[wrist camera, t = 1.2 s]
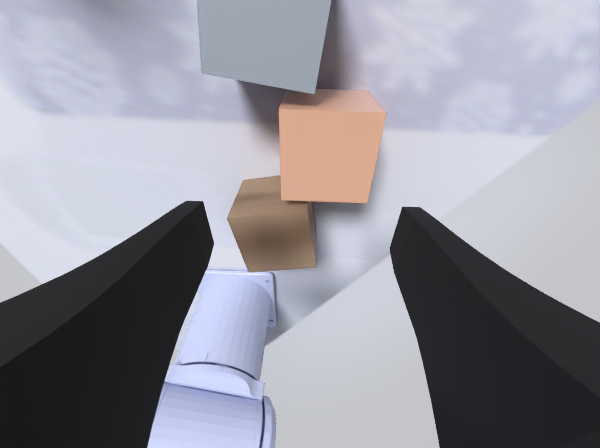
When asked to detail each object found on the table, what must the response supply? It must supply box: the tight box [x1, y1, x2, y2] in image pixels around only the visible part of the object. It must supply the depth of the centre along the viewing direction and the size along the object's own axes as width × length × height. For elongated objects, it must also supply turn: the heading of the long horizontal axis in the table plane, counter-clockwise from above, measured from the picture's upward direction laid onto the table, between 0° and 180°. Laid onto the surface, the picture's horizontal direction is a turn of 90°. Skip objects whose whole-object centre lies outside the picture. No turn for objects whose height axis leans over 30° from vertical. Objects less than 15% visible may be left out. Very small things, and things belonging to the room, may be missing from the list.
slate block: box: [197, 0, 331, 94], centre depth 12 cm, size 5×5×5 cm
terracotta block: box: [279, 89, 387, 203], centre depth 16 cm, size 5×5×5 cm
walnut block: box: [227, 175, 317, 273], centre depth 19 cm, size 5×5×5 cm
